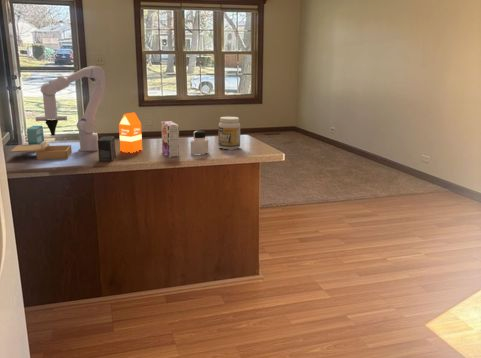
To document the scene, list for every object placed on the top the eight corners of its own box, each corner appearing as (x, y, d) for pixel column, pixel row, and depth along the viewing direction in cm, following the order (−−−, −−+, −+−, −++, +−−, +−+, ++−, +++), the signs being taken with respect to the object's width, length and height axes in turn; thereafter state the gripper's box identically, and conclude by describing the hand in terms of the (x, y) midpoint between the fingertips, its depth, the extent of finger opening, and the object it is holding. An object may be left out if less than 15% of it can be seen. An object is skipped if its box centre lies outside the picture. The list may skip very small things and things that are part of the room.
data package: (38, 151, 234) (35, 128, 231) (28, 151, 234) (26, 128, 230) (44, 147, 246) (42, 125, 242) (36, 147, 245) (33, 125, 242)
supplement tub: (214, 149, 247) (214, 118, 243) (223, 145, 258) (223, 115, 254) (235, 151, 243) (235, 119, 238) (243, 147, 254) (244, 117, 249)
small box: (102, 156, 226) (101, 136, 223) (116, 156, 226) (114, 136, 223) (98, 161, 215) (96, 140, 213) (112, 161, 216) (110, 140, 213)
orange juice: (142, 150, 242) (140, 112, 237) (132, 153, 235) (130, 114, 229) (130, 148, 245) (128, 111, 240) (120, 151, 238) (117, 113, 232)
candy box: (161, 152, 238) (160, 121, 233) (172, 151, 240) (171, 120, 235) (168, 157, 225) (167, 125, 221) (179, 157, 228) (179, 124, 223)
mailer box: (71, 152, 233) (71, 145, 232) (67, 158, 220) (66, 150, 219) (42, 153, 230) (42, 145, 229) (36, 159, 217) (35, 151, 216)
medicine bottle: (208, 152, 238) (208, 130, 235) (203, 155, 231) (202, 132, 228) (196, 151, 240) (195, 129, 237) (190, 154, 234) (190, 131, 230)
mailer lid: (49, 145, 230) (48, 139, 229) (43, 151, 216) (42, 145, 216) (18, 146, 227) (17, 140, 226) (10, 152, 213) (9, 146, 213)
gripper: (33, 109, 219) (36, 136, 223) (64, 108, 222) (67, 136, 226) (36, 107, 226) (39, 134, 229) (66, 107, 229) (69, 133, 233)
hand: (53, 135), depth 228 cm, fingers closed
